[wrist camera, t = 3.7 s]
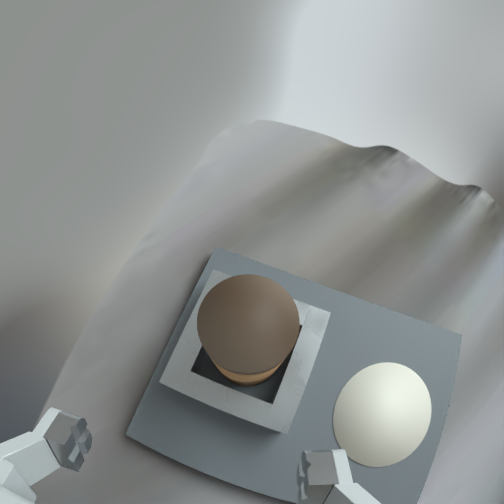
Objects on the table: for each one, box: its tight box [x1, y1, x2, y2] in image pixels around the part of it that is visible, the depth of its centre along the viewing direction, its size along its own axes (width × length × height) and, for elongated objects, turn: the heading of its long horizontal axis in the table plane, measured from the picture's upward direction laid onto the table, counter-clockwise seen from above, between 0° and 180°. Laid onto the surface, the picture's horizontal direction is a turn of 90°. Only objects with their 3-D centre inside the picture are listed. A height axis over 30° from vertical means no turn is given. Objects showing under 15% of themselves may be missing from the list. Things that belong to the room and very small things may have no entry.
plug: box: [197, 274, 300, 387], centre depth 18 cm, size 4×4×9 cm
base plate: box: [126, 247, 462, 504], centre depth 21 cm, size 16×22×1 cm
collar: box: [159, 269, 331, 434], centre depth 20 cm, size 8×8×2 cm
